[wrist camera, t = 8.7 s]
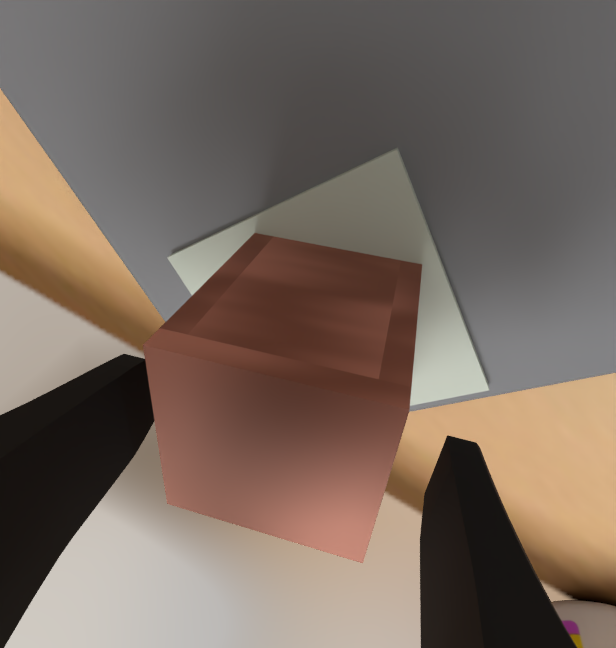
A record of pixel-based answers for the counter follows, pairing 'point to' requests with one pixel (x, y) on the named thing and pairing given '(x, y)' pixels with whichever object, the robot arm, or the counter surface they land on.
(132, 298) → the counter surface
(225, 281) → the rimmed copper cube
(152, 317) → the counter surface
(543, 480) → the counter surface
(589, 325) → the board
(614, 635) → the supplement bottle
